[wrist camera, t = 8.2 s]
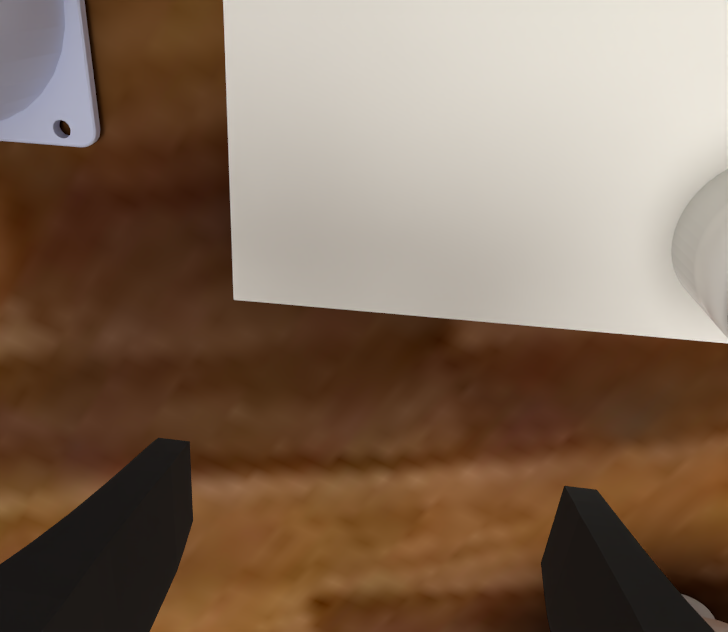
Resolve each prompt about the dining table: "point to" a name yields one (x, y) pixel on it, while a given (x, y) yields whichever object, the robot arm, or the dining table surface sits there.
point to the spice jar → (705, 249)
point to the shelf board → (474, 156)
